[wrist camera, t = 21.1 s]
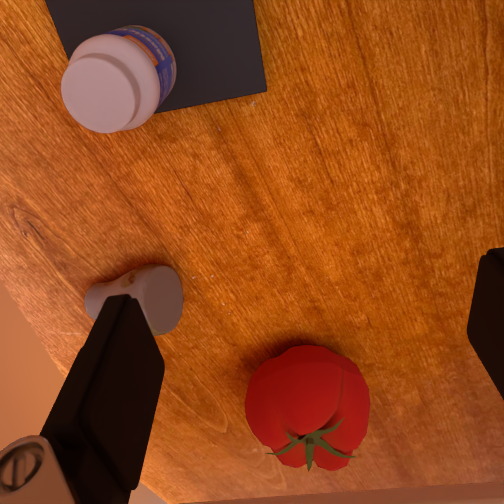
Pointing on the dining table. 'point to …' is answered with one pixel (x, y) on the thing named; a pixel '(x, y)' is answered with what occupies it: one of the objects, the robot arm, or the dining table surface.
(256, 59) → the scale
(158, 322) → the white floral vase
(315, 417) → the tomato
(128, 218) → the dining table surface
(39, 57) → the dining table surface
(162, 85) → the pill bottle
